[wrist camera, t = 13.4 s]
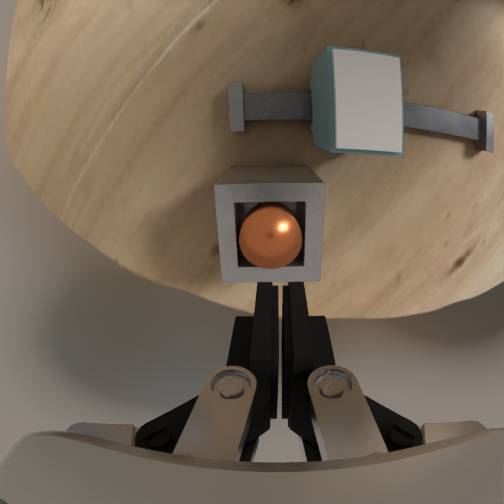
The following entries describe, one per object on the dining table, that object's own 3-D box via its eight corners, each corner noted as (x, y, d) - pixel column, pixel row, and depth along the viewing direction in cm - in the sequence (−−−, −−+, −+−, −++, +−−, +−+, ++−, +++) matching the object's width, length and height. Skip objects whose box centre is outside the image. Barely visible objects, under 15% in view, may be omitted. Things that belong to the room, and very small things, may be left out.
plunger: (292, 185, 25) (302, 209, 18) (292, 228, 27) (301, 268, 19) (246, 185, 25) (237, 210, 18) (248, 229, 27) (240, 269, 20)
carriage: (361, 74, 22) (403, 54, 14) (363, 146, 25) (405, 157, 16) (308, 70, 22) (327, 43, 14) (310, 144, 25) (331, 152, 17)
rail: (483, 112, 22) (493, 113, 20) (482, 150, 24) (493, 152, 22) (230, 85, 24) (227, 82, 22) (232, 131, 25) (229, 132, 24)
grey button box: (307, 165, 26) (324, 183, 18) (306, 239, 29) (319, 285, 21) (231, 166, 27) (214, 185, 18) (235, 240, 30) (222, 286, 21)
